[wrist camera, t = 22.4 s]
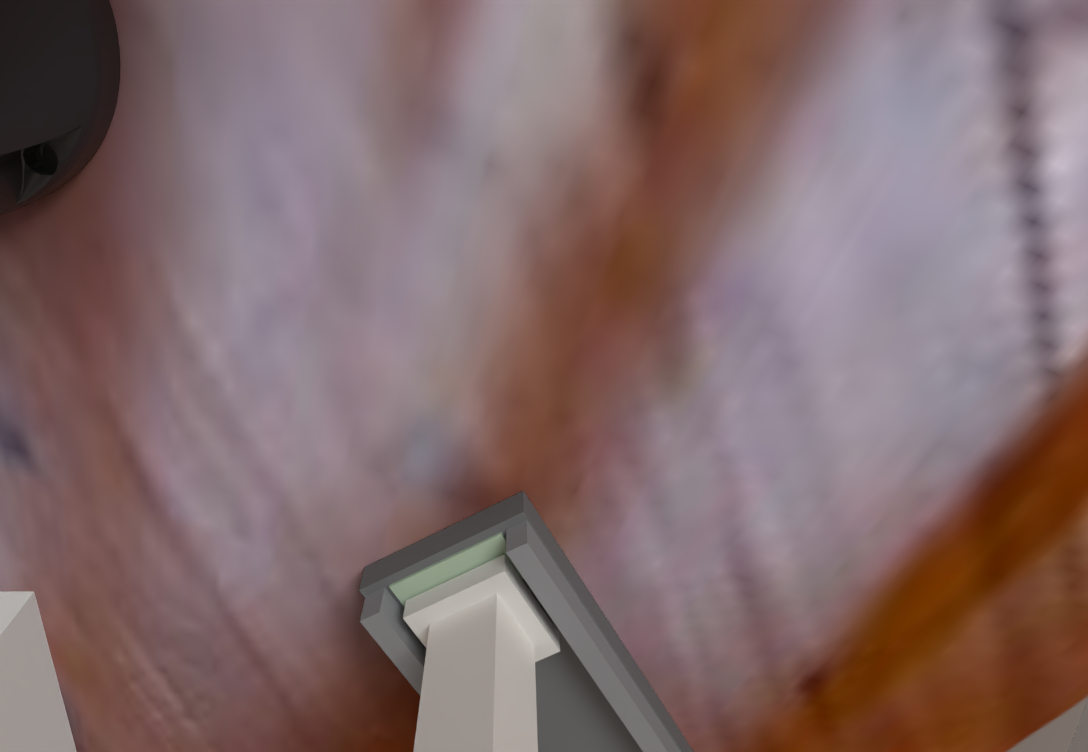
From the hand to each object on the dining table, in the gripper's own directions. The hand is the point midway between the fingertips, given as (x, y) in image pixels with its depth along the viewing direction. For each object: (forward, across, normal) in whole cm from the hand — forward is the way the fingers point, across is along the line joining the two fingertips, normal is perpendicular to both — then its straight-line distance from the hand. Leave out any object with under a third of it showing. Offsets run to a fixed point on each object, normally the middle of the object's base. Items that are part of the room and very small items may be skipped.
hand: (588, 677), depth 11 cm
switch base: (+32, +2, -31) cm, 44 cm away
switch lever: (+29, -2, -24) cm, 38 cm away
